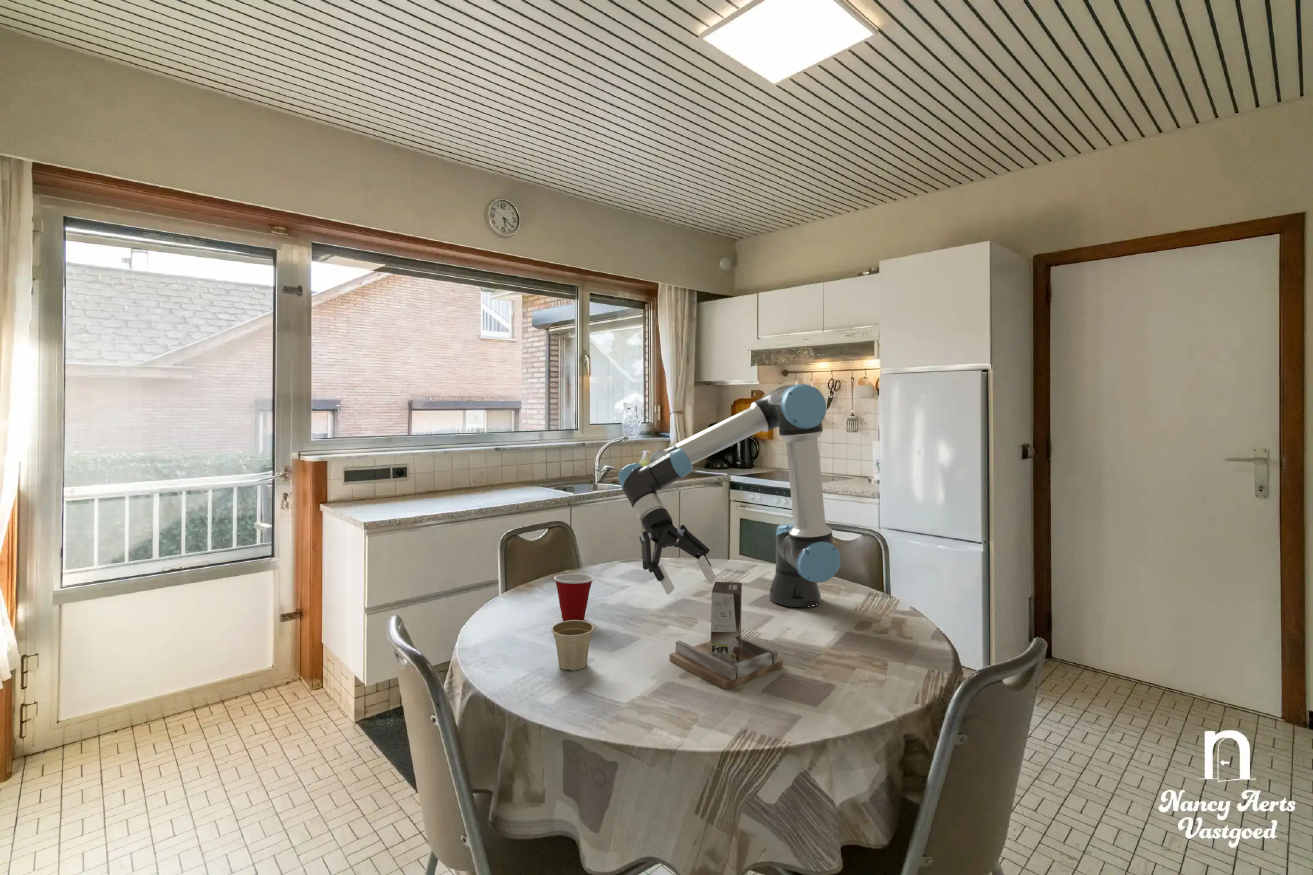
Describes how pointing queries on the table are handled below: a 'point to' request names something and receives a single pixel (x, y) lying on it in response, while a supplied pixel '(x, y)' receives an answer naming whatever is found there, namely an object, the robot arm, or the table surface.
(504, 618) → the table surface
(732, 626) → the coffee box
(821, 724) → the table surface
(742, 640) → the rail holder
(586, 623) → the flower pot
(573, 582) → the plastic cup
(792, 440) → the robot arm
